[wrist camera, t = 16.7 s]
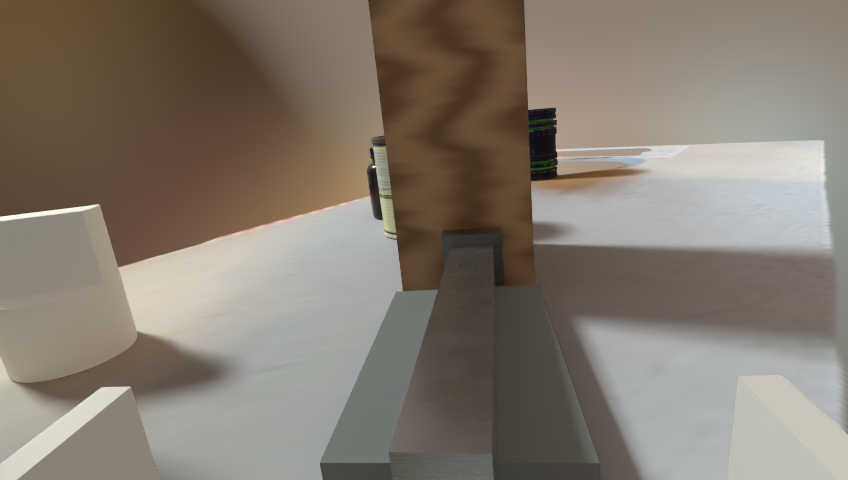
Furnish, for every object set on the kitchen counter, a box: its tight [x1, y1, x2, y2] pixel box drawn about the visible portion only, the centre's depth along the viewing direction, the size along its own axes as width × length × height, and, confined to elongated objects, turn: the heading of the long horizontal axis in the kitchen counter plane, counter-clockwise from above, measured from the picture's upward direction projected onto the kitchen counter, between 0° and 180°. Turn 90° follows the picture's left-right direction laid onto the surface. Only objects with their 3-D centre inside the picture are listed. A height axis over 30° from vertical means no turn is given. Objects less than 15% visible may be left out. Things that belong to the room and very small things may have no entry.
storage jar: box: [528, 108, 558, 181], centre depth 103 cm, size 10×10×15 cm
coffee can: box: [371, 136, 397, 239], centre depth 66 cm, size 10×10×14 cm
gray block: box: [320, 285, 600, 480], centre depth 29 cm, size 12×20×2 cm, turn 173°
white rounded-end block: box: [0, 205, 138, 383], centre depth 37 cm, size 9×9×12 cm
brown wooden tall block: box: [368, 0, 535, 291], centre depth 45 cm, size 12×16×33 cm
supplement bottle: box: [367, 147, 383, 219], centre depth 79 cm, size 7×7×12 cm
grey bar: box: [389, 227, 504, 480], centre depth 28 cm, size 5×26×4 cm, turn 172°
